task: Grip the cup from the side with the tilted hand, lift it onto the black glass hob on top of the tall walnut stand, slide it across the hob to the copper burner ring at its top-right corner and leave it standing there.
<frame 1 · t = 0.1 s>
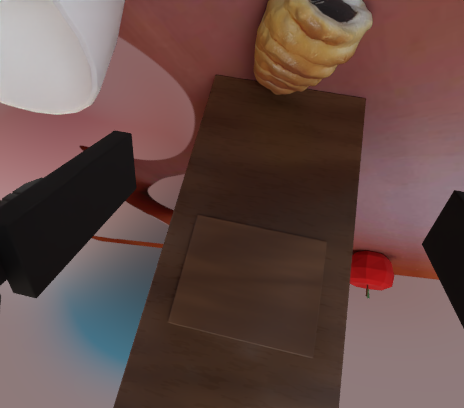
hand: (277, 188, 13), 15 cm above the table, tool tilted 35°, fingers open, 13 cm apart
stove stand: (279, 129, 35), on the table
pastry: (307, 27, 22), on the table
apple 2: (369, 253, 73), on the table
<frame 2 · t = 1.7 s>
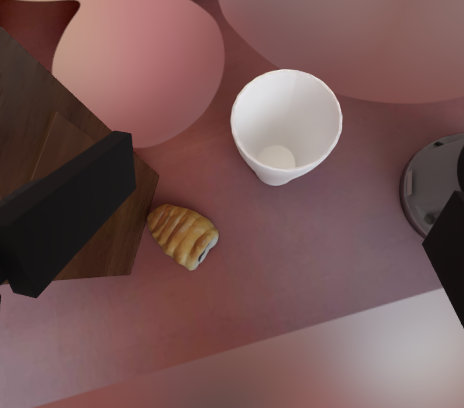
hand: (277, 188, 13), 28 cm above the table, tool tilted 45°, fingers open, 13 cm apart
cup: (275, 165, 42), on the table
stove stand: (98, 212, 42), on the table
pastry: (186, 237, 41), on the table
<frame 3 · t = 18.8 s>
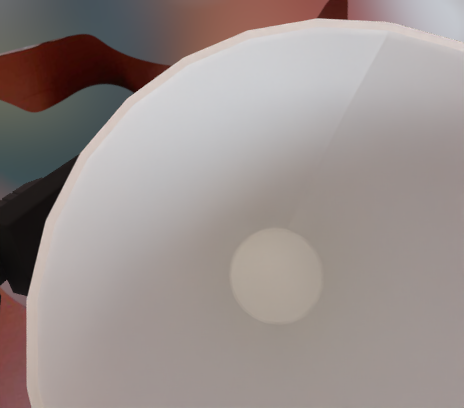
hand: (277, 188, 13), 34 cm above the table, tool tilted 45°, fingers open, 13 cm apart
cup: (275, 274, 18), point 28 cm above the table, touching hob plate
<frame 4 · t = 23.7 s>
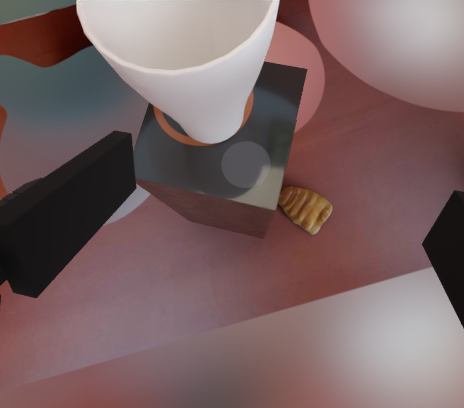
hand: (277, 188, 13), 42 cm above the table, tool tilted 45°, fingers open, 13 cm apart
cup: (212, 115, 29), point 28 cm above the table, touching hob plate
stove stand: (234, 192, 56), on the table
pastry: (304, 211, 55), on the table
hob plate: (218, 122, 28), resting on stove stand
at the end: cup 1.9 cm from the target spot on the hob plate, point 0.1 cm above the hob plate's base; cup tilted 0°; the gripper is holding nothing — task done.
